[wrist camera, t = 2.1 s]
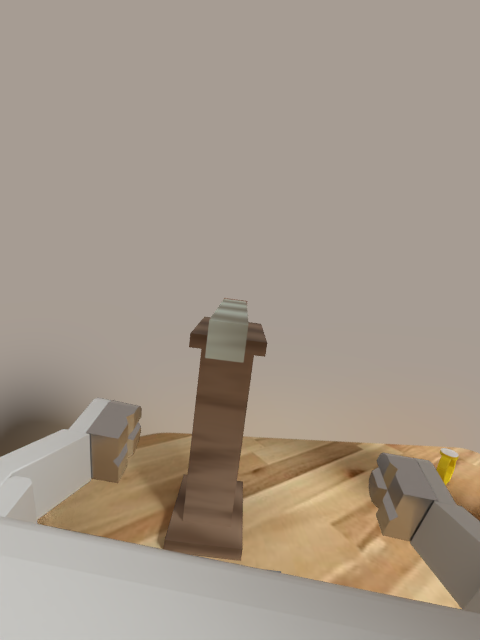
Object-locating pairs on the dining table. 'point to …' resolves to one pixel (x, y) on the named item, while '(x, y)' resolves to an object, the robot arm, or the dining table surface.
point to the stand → (215, 454)
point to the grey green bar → (228, 331)
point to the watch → (447, 464)
